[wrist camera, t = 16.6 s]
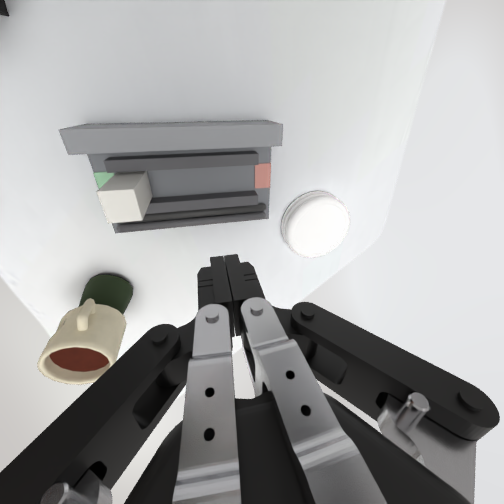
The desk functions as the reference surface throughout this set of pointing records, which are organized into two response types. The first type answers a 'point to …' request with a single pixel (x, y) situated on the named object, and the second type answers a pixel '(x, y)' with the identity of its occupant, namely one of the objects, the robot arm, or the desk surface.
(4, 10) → the uninterruptible power supply
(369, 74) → the desk surface
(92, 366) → the character mug
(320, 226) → the white round disc
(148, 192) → the handle
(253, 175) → the grey slider panel
